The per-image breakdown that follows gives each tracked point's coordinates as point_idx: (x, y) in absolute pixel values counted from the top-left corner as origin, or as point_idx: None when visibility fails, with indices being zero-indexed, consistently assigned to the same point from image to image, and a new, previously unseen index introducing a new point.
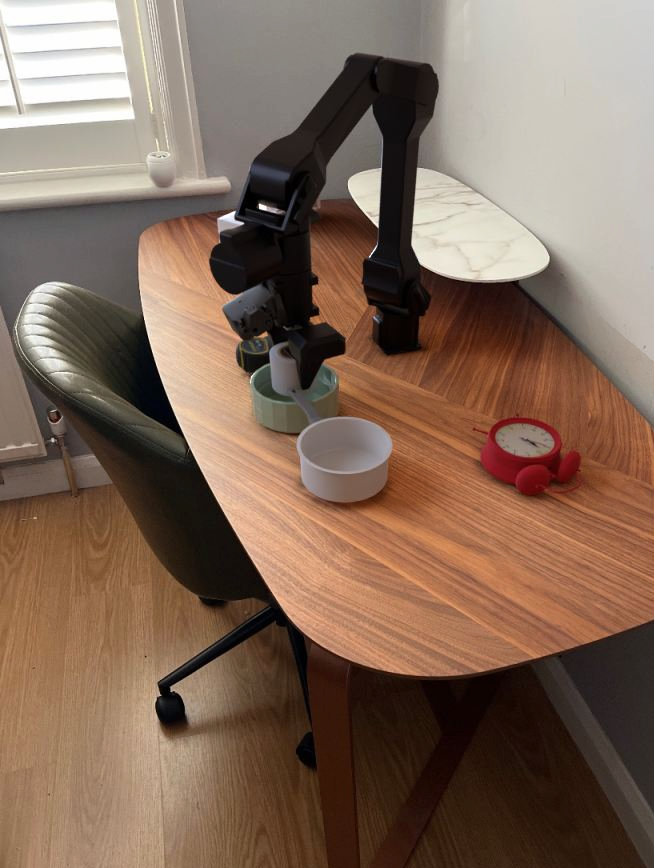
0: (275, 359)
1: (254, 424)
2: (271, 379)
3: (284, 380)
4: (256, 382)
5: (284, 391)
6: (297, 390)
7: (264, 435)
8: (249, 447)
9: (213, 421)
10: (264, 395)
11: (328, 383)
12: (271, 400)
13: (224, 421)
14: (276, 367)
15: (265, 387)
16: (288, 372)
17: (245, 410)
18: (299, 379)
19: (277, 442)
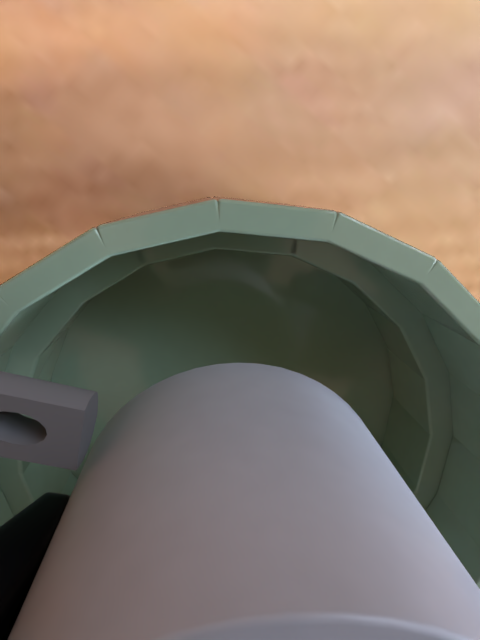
0: (282, 629)
1: (280, 189)
2: (444, 450)
3: (147, 454)
4: (457, 349)
5: (164, 393)
6: (7, 453)
7: (165, 162)
8: (123, 18)
9: (458, 37)
10: (398, 356)
11: None
12: (120, 236)
13: (414, 85)
14: (240, 517)
15: (419, 386)
16: (77, 556)
17: (406, 235)
18: (11, 557)
19: (68, 171)
